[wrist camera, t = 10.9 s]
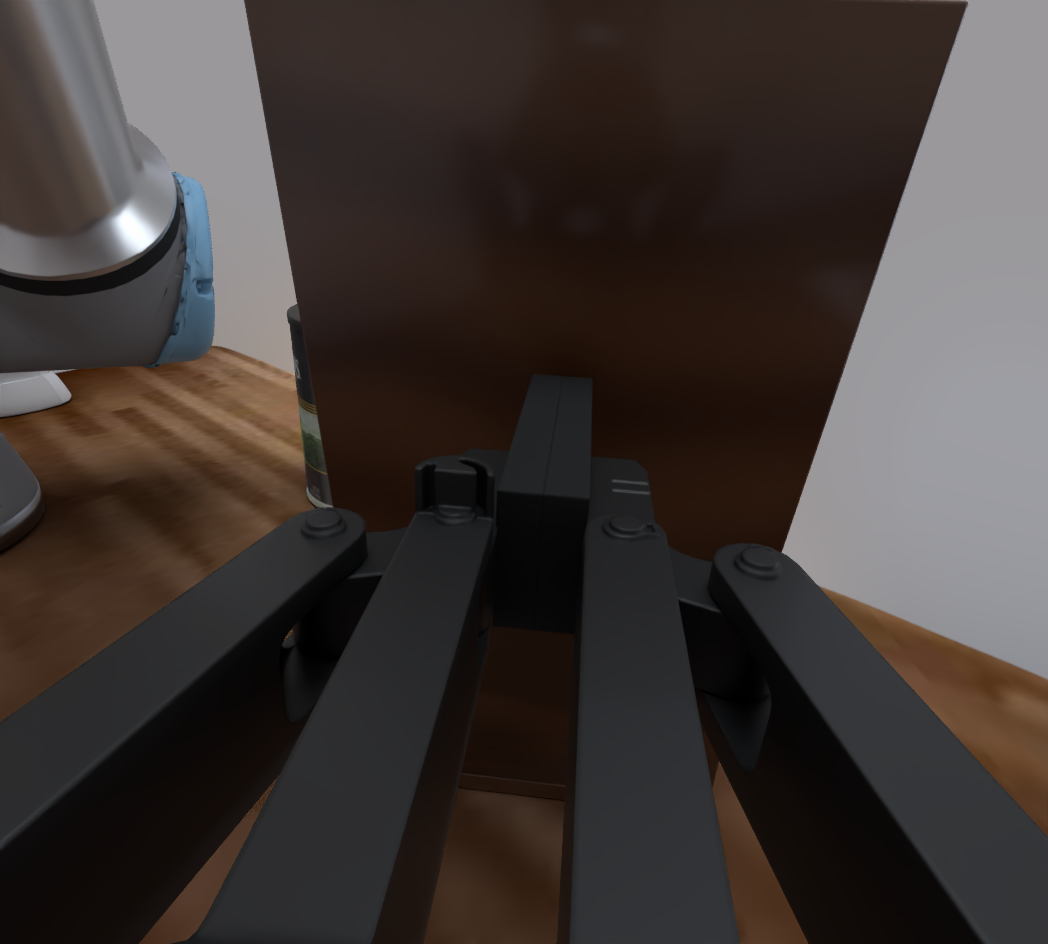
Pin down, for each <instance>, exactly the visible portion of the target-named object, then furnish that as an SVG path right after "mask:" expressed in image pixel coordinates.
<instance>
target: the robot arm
mask: <svg viewBox="0 0 1048 944" xmlns="http://www.w3.org/2000/svg"><path fill="white" fill-rule="evenodd" d="M211 246H212V244H211V234H210V224H209V216H208V209H207V203H206V197H205V193H204V190H203V188H202V186H201V184H200V183H199V182H197V181H196V180H195V179H193V178H190V177H184V176H182V175H180V174H179V173H176V172H171V170H170V168H169V166H168V164H167V162H166V159H165V157H164V156H163V154H162V153H161V152H160V150H159V149H158V148H157V147H156V145H154V143H153V142H152V141H151V140H149V138H148V137H147V136H145V135H144V134H143V133H142V132H140V131H139V130H138V129H137V128H135V127H134V126H132V125H131V124H129V123H128V122H127V119H126V115H125V112H124V108H123V104H122V101H121V97H120V94H119V91H118V87H117V83H116V79H115V76H114V72H113V69H112V65H111V62H110V58H109V54H108V51H107V47H106V44H105V40H104V37H103V33H102V30H101V26H100V22H99V19H98V15H97V12H96V8H95V4H94V1H93V0H0V373H17V372H34V371H51V370H69V369H86V368H104V367H126V366H144V367H146V368H155V367H158V366H160V365H162V364H167V363H176V362H185V361H193V360H196V359H199V358H201V357H202V356H204V355H205V354H206V353H207V352H208V350H209V349H210V347H211V345H212V341H213V336H214V319H215V314H214V313H215V306H214V305H215V304H214V289H213V286H212V282H213V257H212V247H211ZM592 384H593V378H580V377H566V376H553V375H540V374H533V376H532V379H531V382H530V385H529V389H528V392H527V395H526V398H525V401H524V405H523V408H522V411H521V414H520V418H519V421H518V424H517V427H516V431H515V434H514V437H513V440H512V443H511V447H510V450H509V451H500V450H488V449H477V448H470V449H469V450H467V451H466V452H464V453H462V454H461V455H445V456H438V457H432V458H430V459H427V460H425V461H422V462H420V463H419V464H418V465H417V466H416V467H415V468H414V471H415V510H416V513H415V514H414V516H413V518H412V520H411V522H410V524H409V526H408V527H405V528H402V529H397V530H390V531H380V532H368V533H366V523H365V519H364V518H363V517H362V516H361V515H360V514H359V513H356V512H353V511H351V510H348V509H341V508H336V507H326V508H324V507H321V508H315V509H313V510H310V511H306V512H302V513H300V514H298V515H296V516H294V517H292V518H290V519H288V520H287V521H285V522H284V523H283V524H281V525H280V526H278V527H277V528H276V529H274V530H273V531H271V532H270V533H268V534H267V535H266V536H264V537H263V538H261V539H260V540H258V541H257V542H256V543H254V544H253V545H251V546H250V547H249V548H247V549H246V550H244V551H243V552H241V553H240V554H239V555H237V556H236V557H234V558H233V559H232V560H230V561H229V562H227V563H226V564H224V565H223V566H222V567H220V568H219V569H217V570H216V571H214V572H213V573H212V574H210V575H209V576H207V577H206V578H205V579H203V580H202V581H200V582H199V583H197V584H196V585H195V586H193V587H192V588H190V589H189V590H187V591H186V592H185V593H183V594H182V595H180V596H179V597H178V598H176V599H175V600H173V601H172V602H170V603H169V604H168V605H166V606H165V607H163V608H162V609H161V610H159V611H158V612H156V613H155V614H153V615H152V616H151V617H149V618H148V619H146V620H145V621H143V622H142V623H141V624H139V625H138V626H136V627H135V628H134V629H132V630H131V631H129V632H128V633H126V634H125V635H124V636H122V637H121V638H119V639H118V640H117V641H115V642H114V643H112V644H111V645H109V646H108V647H107V648H105V649H104V650H102V651H101V652H99V653H98V654H97V655H95V656H94V657H92V658H91V659H90V660H88V661H87V662H85V663H84V664H82V665H81V666H80V667H78V668H77V669H75V670H74V671H73V672H71V673H70V674H68V675H67V676H65V677H64V678H63V679H61V680H60V681H58V682H57V683H55V684H54V685H53V686H51V687H50V688H48V689H47V690H46V691H44V692H43V693H41V694H40V695H38V696H37V697H36V698H34V699H33V700H31V701H30V702H29V703H27V704H26V705H24V706H23V707H21V708H20V709H19V710H17V711H16V712H14V713H13V714H11V715H10V716H9V717H7V718H6V719H4V720H3V721H2V722H0V944H139V943H140V941H141V940H142V939H143V938H144V937H145V935H146V934H147V933H148V932H149V931H150V929H151V928H152V927H153V926H154V924H155V923H156V922H157V921H158V920H159V918H160V917H161V916H162V915H163V914H164V912H165V911H166V910H167V909H168V908H169V906H170V905H171V904H172V903H173V902H174V900H175V899H176V898H177V897H178V896H179V894H180V893H181V892H182V891H183V890H184V888H185V887H186V886H187V885H188V884H189V882H190V881H191V880H192V879H193V878H194V876H195V875H196V874H197V873H198V872H199V870H200V869H201V868H202V867H203V866H204V864H205V863H206V862H207V861H208V860H209V858H210V857H211V856H212V855H213V854H214V852H215V851H216V850H217V849H218V847H219V846H220V845H221V844H222V843H223V841H224V840H225V839H226V838H227V837H228V835H229V834H230V833H231V832H232V831H233V829H234V828H235V827H236V826H237V825H238V823H239V822H240V821H241V820H242V819H243V817H244V816H245V815H246V814H247V813H248V811H249V810H250V809H251V808H252V807H253V805H254V804H255V803H256V802H257V801H258V799H259V798H260V797H261V796H262V795H263V793H264V792H265V791H266V790H267V789H268V787H269V786H270V785H271V784H272V783H273V781H274V780H275V779H276V778H277V777H278V775H279V774H280V775H279V777H278V779H277V781H276V783H275V785H274V787H273V789H272V790H271V792H270V794H269V796H268V798H267V800H266V802H265V804H264V806H263V808H262V810H261V812H260V814H259V816H258V817H257V819H256V821H255V823H254V825H253V827H252V829H251V831H250V833H249V835H248V837H247V839H246V841H245V843H244V844H243V846H242V848H241V850H240V852H239V854H238V856H237V858H236V860H235V862H234V864H233V866H232V868H231V870H230V871H229V873H228V875H227V877H226V879H225V881H224V883H223V885H222V887H221V889H220V891H219V893H218V895H217V897H216V899H215V900H214V902H213V904H212V906H211V908H210V910H209V912H208V914H207V916H206V917H205V919H204V920H203V922H202V924H201V925H200V927H199V928H198V930H197V931H196V932H195V933H194V934H193V935H192V936H191V937H190V938H189V939H188V940H186V941H181V942H177V943H172V944H423V942H424V938H425V933H426V929H427V924H428V920H429V915H430V911H431V906H432V902H433V897H434V893H435V888H436V884H437V879H438V875H439V870H440V866H441V861H442V857H443V852H444V848H445V843H446V839H447V834H448V830H449V825H450V820H451V816H452V811H453V807H454V802H455V798H456V793H457V789H458V784H459V780H460V775H461V771H462V766H463V762H464V757H465V753H466V748H467V744H468V739H469V735H470V730H471V726H472V721H473V717H474V712H475V708H476V703H477V698H478V694H479V689H480V685H481V680H482V676H483V671H484V667H485V662H486V658H487V653H488V649H489V641H490V620H491V616H492V611H493V623H492V626H497V627H506V628H516V629H526V630H535V631H545V632H555V633H564V634H574V635H575V637H574V647H573V657H572V667H571V677H570V687H569V688H571V697H570V715H569V734H568V752H567V770H566V788H565V806H564V825H563V843H562V861H561V879H560V898H559V916H558V934H557V944H740V940H739V935H738V929H737V924H736V918H735V912H734V907H733V901H732V896H731V890H730V885H729V879H728V874H727V868H726V863H725V857H724V851H723V846H722V840H721V835H720V829H719V824H718V818H717V813H716V807H715V802H714V796H713V791H712V785H711V779H710V774H709V768H708V763H707V757H706V752H705V746H704V741H703V735H702V730H701V724H702V726H703V728H704V730H705V732H706V734H707V736H708V739H709V741H710V743H711V745H712V747H713V749H714V751H715V753H716V755H717V757H718V759H719V761H720V763H721V765H722V767H723V769H724V771H725V773H726V775H727V777H728V780H729V782H730V784H731V786H732V788H733V790H734V792H735V794H736V796H737V798H738V800H739V802H740V804H741V806H742V808H743V810H744V812H745V814H746V816H747V818H748V820H749V823H750V825H751V827H752V829H753V831H754V833H755V835H756V837H757V839H758V841H759V843H760V845H761V847H762V849H763V851H764V853H765V855H766V857H767V859H768V861H769V864H770V866H771V868H772V870H773V872H774V874H775V876H776V878H777V880H778V882H779V884H780V886H781V888H782V890H783V892H784V894H785V896H786V898H787V900H788V902H789V905H790V907H791V909H792V911H793V913H794V915H795V917H796V919H797V921H798V923H799V925H800V927H801V929H802V931H803V933H804V935H805V937H806V939H807V941H808V943H809V944H1048V837H1047V835H1046V834H1045V833H1044V832H1043V831H1042V830H1041V829H1040V828H1039V827H1038V826H1037V825H1036V823H1035V822H1034V821H1033V820H1032V819H1031V818H1030V817H1029V816H1028V815H1027V814H1026V812H1025V811H1024V810H1023V809H1022V808H1021V807H1020V806H1019V805H1018V804H1017V803H1016V802H1015V800H1014V799H1013V798H1012V797H1011V796H1010V795H1009V794H1008V793H1007V792H1006V791H1005V790H1004V788H1003V787H1002V786H1001V785H1000V784H999V783H998V782H997V781H996V780H995V779H994V778H993V776H992V775H991V774H990V773H989V772H988V771H987V770H986V769H985V768H984V767H983V766H982V764H981V763H980V762H979V761H978V760H977V759H976V758H975V757H974V756H973V755H972V754H971V752H970V751H969V750H968V749H967V748H966V747H965V746H964V745H963V744H962V743H961V742H960V740H959V739H958V738H957V737H956V736H955V735H954V734H953V733H952V732H951V731H950V730H949V728H948V727H947V726H946V725H945V724H944V723H943V722H942V721H941V720H940V719H939V718H938V716H937V715H936V714H935V713H934V712H933V711H932V710H931V709H930V708H929V707H928V706H927V704H926V703H925V702H924V701H923V700H922V699H921V698H920V697H919V696H918V695H917V693H916V692H915V691H914V690H913V689H912V688H911V687H910V686H909V685H908V684H907V683H906V681H905V680H904V679H903V678H902V677H901V676H900V675H899V674H898V673H897V672H896V671H895V669H894V668H893V667H892V666H891V665H890V664H889V663H888V662H887V661H886V660H885V659H884V657H883V656H882V655H881V654H880V653H879V652H878V651H877V650H876V649H875V648H874V647H873V645H872V644H871V643H870V642H869V641H868V640H867V639H866V638H865V637H864V636H863V635H862V633H861V632H860V631H859V630H858V629H857V628H856V627H855V626H854V625H853V624H852V623H851V621H850V620H849V619H848V618H847V617H846V616H845V615H844V614H843V613H842V612H841V611H840V609H839V608H838V607H837V606H836V605H835V604H834V603H833V602H832V601H831V600H830V599H829V597H828V596H827V595H826V594H825V593H824V592H823V591H822V590H821V589H820V588H819V586H818V585H817V584H816V583H815V582H814V581H813V580H812V579H811V578H810V577H809V576H808V575H807V573H806V572H805V571H804V570H803V569H802V568H801V567H800V566H799V565H798V564H797V563H796V562H794V561H793V560H792V559H791V558H790V557H788V556H787V555H785V554H783V553H781V552H779V551H776V550H774V549H773V548H771V547H768V546H761V545H760V544H755V543H751V544H747V543H736V544H729V545H725V546H723V547H721V548H720V549H718V550H716V553H715V555H714V557H713V562H709V561H706V560H702V559H698V558H695V557H692V556H689V555H686V554H683V553H681V552H679V551H677V550H675V549H673V548H671V547H670V546H669V545H668V541H667V536H666V533H665V532H664V530H663V528H662V527H661V526H660V525H659V524H657V523H656V522H655V517H654V511H653V504H652V498H651V495H650V493H651V492H650V486H649V480H648V473H647V471H646V470H645V469H644V468H643V467H642V466H641V465H640V464H639V463H638V462H637V461H636V460H628V459H616V458H605V457H593V456H591V427H592ZM44 510H45V503H44V499H43V496H42V492H41V489H40V486H39V482H38V480H37V478H36V477H35V476H34V474H33V472H32V471H31V469H30V468H29V467H28V466H27V464H26V463H25V462H24V461H23V459H22V458H21V457H20V456H19V454H18V453H17V452H16V451H15V449H14V448H13V447H12V445H11V444H10V443H9V442H8V440H7V439H6V438H5V437H4V435H3V434H2V433H1V432H0V551H1V550H3V549H5V548H7V547H8V546H10V545H12V544H13V543H15V542H16V541H18V540H19V539H20V538H22V537H23V536H24V535H26V534H27V533H28V532H29V531H30V530H32V529H33V528H34V526H35V525H36V524H37V523H38V522H39V521H40V519H41V518H42V516H43V514H44ZM291 629H293V634H292V635H291V636H290V637H289V638H288V639H286V640H285V641H284V639H285V637H286V635H287V634H288V633H289V631H290V630H291ZM700 722H701V724H700Z"/></svg>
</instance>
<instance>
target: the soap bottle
mask: <svg viewBox="0 0 1048 944" xmlns="http://www.w3.org/2000/svg"><path fill="white" fill-rule="evenodd" d="M70 398H71V393H70V392H69V391H68V389H67V388H66V386H65V385H64V384H63V382H62V381H61V380H60V379H59V378H58V376H57V375H56V374H54V373H53V372H52V371H34V372H17V373H0V417H8V416H15V415H20V414H25V413H30V412H35V411H40V410H43V409H47V408H51V407H54V406H58V405H61V404H63V403H66V402H67V401H69V400H70Z"/></svg>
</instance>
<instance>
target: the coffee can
mask: <svg viewBox="0 0 1048 944" xmlns="http://www.w3.org/2000/svg"><path fill="white" fill-rule="evenodd" d="M287 317H288V322H289V324H290V331H291V340H292V349H293V356H294V357H293V358H294V367H295V377H296V387H297V395H298V404H299V413H300V423H301V432H302V441H303V451H304V462H305V470H306V480H307V489H306V491H307V496H308V498H309V500H310V501H311V503H312V504H313V505H315V506H316V507H318V508H321V507H324V508H326V507H333V504H332V499H331V493H330V487H329V481H328V476H327V470H326V464H325V459H324V453H323V447H322V441H321V436H320V430H319V424H318V419H317V413H316V407H315V401H314V396H313V390H312V384H311V379H310V373H309V367H308V362H307V356H306V350H305V344H304V339H303V333H302V327H301V322H300V316H299V310H298V304H296V305H294V306H292V307H290V308H289V309H288V311H287Z"/></svg>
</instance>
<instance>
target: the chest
mask: <svg viewBox="0 0 1048 944" xmlns="http://www.w3.org/2000/svg"><path fill="white" fill-rule="evenodd" d="M492 623H493V611H492V616H491V620H490V641H489V649H488V653H487V658H486V662H485V667H484V671H483V676H482V680H481V685H480V689H479V694H478V698H477V703H476V708H475V712H474V717H473V721H472V726H471V730H470V735H469V739H468V744H467V748H466V753H465V757H464V762H463V766H462V771H461V775H460V780H459V784H458V787H460V788H468V789H477V790H485V791H493V792H502V793H510V794H518V795H527V796H535V797H544V798H552V799H560V800H565V788H566V770H567V752H568V734H569V715H570V697H571V688H569V687H570V677H571V667H572V657H573V647H574V637H575V635H574V634H564V633H555V632H545V631H535V630H526V629H516V628H506V627H497V626H492ZM700 724H701V722H700ZM701 730H702V735H703V741H704V746H705V752H706V757H707V763H708V768H709V774H710V779H711V785H712V788H713V784H714V780H715V776H716V772H717V767H718V763H719V759H718V757H717V755H716V753H715V751H714V749H713V747H712V745H711V743H710V741H709V739H708V736H707V734H706V732H705V730H704V728H703V726H702V724H701Z"/></svg>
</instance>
